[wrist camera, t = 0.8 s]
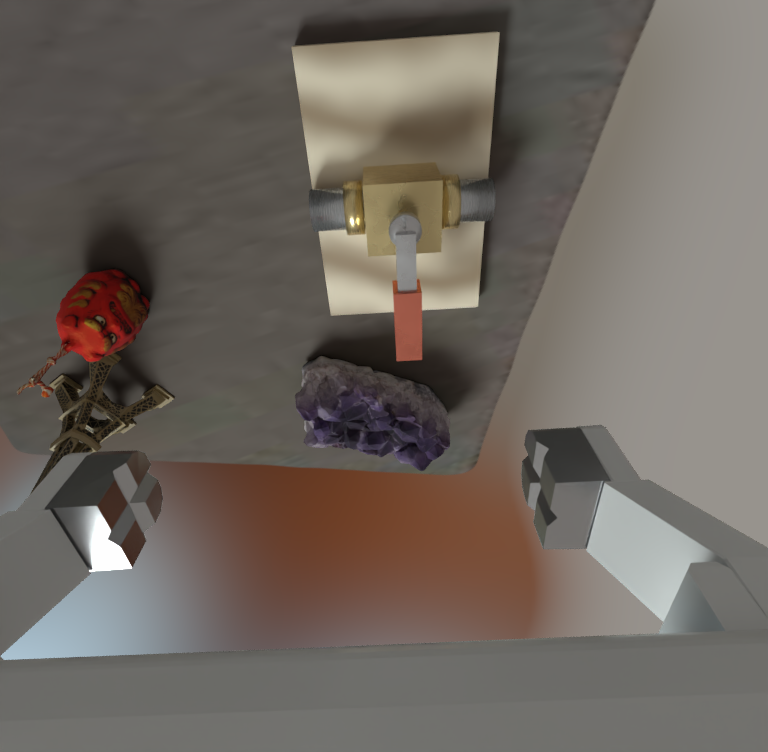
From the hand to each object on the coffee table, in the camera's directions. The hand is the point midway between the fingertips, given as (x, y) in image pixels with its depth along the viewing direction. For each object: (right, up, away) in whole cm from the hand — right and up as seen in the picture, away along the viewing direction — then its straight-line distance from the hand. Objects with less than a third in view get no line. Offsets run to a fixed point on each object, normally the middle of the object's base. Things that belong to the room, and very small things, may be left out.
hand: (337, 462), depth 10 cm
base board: (+3, +19, +34) cm, 39 cm away
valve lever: (+3, +10, +32) cm, 34 cm away
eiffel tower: (-33, 0, +49) cm, 59 cm away
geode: (0, 0, +50) cm, 50 cm away
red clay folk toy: (-28, +11, +41) cm, 50 cm away
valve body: (+3, +19, +34) cm, 39 cm away
